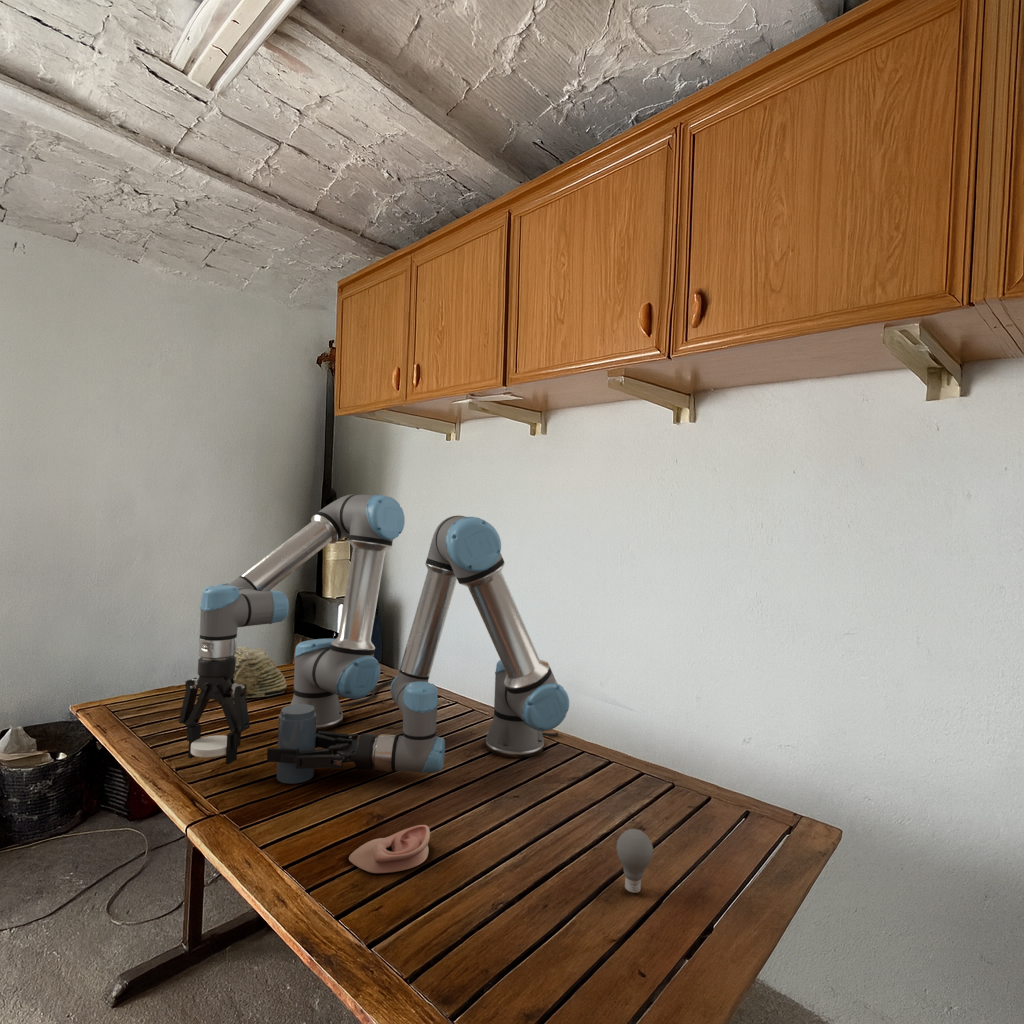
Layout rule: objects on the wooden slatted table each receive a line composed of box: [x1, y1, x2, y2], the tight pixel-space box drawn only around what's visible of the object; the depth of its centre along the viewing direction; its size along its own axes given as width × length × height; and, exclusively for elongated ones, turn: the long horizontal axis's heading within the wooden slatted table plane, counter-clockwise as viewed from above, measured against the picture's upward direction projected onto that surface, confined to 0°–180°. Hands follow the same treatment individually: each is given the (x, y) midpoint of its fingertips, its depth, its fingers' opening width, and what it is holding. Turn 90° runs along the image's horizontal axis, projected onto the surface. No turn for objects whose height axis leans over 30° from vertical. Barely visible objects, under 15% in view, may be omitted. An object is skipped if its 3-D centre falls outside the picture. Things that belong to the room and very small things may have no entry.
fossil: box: [231, 646, 288, 699], centre depth 198 cm, size 9×18×15 cm, turn 132°
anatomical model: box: [348, 824, 431, 874], centre depth 113 cm, size 13×4×12 cm
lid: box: [191, 734, 227, 758], centre depth 139 cm, size 9×9×2 cm
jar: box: [275, 704, 317, 785], centre depth 143 cm, size 8×8×15 cm
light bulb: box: [615, 828, 654, 894], centre depth 106 cm, size 6×6×10 cm
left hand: (212, 758), depth 139 cm, fingers closed on lid, 9 cm apart
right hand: (275, 746), depth 143 cm, fingers closed on jar, 8 cm apart
